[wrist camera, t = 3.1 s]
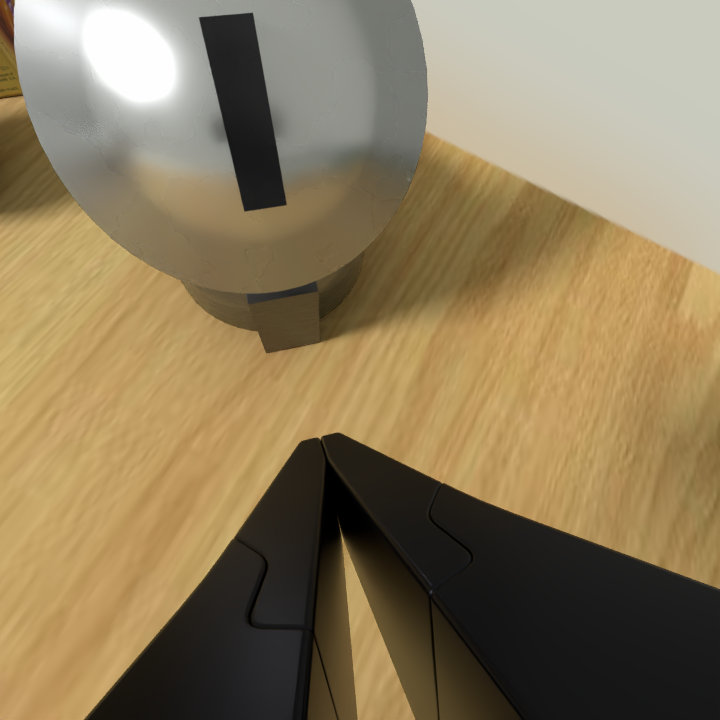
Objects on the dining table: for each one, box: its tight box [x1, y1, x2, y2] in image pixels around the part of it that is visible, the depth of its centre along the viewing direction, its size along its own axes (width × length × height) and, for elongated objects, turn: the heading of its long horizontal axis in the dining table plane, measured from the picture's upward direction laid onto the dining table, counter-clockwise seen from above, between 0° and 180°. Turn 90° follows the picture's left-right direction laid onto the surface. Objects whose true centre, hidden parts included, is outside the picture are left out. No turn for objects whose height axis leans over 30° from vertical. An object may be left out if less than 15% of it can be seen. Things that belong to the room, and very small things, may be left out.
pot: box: [181, 251, 364, 353], centre depth 23 cm, size 12×11×6 cm
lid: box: [14, 0, 428, 293], centre depth 14 cm, size 12×12×2 cm
